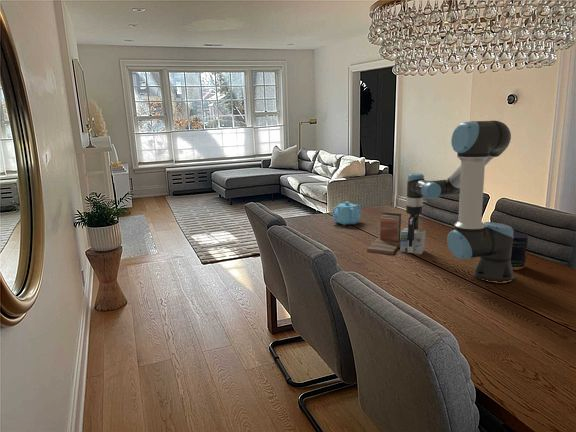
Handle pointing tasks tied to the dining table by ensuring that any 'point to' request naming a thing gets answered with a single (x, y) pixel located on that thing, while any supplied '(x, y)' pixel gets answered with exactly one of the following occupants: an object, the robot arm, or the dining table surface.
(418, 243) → the light bulb box
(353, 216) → the decorative pot
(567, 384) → the dining table surface
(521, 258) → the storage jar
